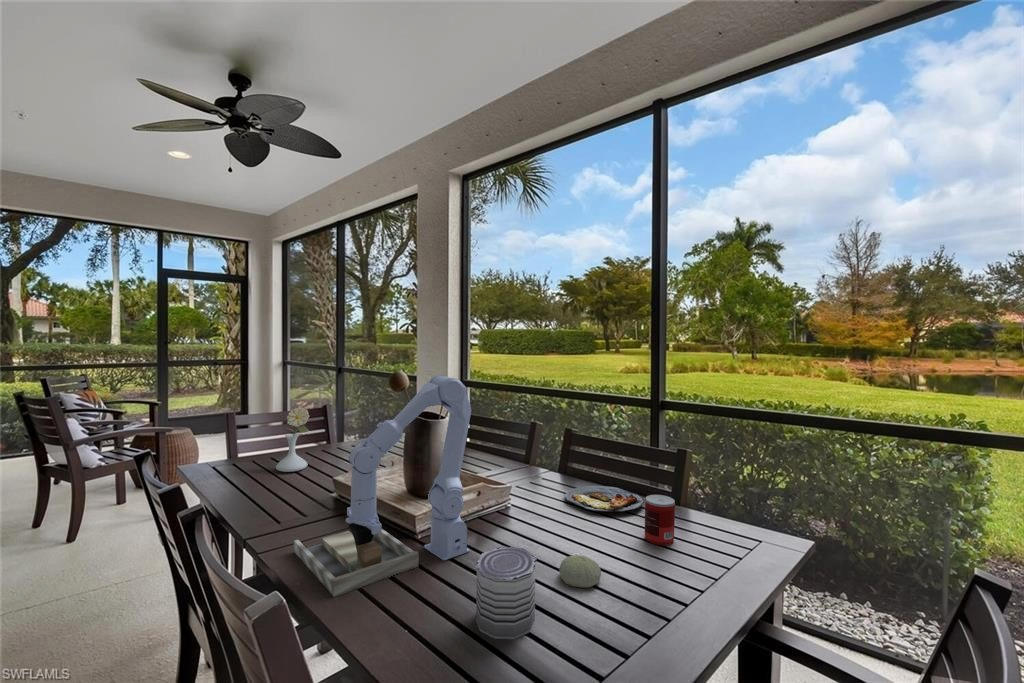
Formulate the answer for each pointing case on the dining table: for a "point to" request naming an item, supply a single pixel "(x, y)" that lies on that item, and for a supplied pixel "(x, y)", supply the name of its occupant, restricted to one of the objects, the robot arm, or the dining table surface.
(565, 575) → the sea urchin shell
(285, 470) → the flower in vase
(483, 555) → the can
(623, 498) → the food plate
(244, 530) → the dining table surface
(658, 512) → the canned food
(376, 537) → the box
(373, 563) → the walnut cube
